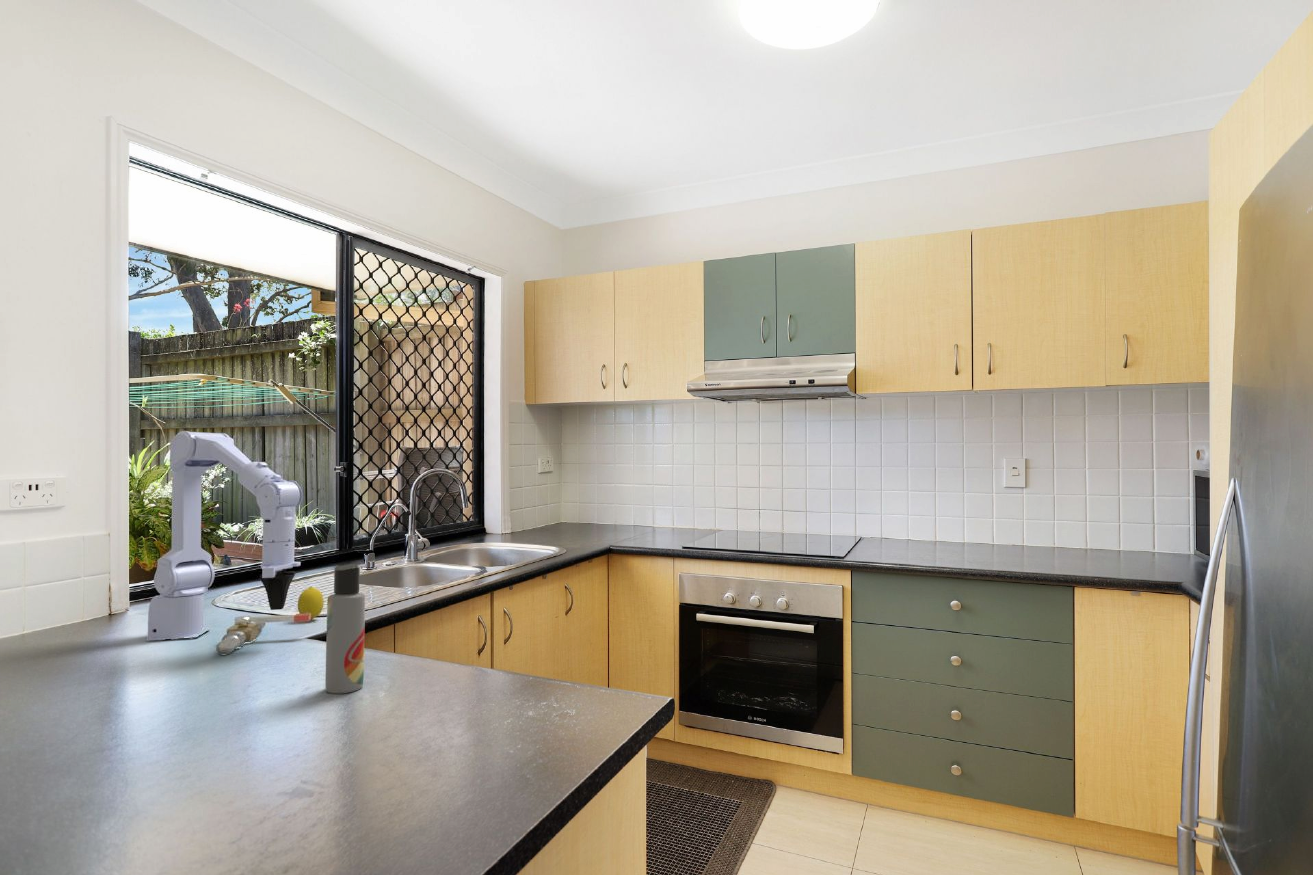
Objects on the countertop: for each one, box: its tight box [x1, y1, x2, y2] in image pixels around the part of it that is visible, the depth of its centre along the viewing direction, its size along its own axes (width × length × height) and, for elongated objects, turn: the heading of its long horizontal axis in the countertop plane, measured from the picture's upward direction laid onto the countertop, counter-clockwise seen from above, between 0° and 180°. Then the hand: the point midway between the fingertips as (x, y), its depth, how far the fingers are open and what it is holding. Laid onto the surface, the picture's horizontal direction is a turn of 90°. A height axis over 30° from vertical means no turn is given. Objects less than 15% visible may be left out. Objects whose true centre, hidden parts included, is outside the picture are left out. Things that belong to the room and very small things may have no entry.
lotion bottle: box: [324, 563, 366, 695], centre depth 114 cm, size 6×6×20 cm
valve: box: [216, 623, 266, 655], centre depth 145 cm, size 22×4×4 cm, turn 15°
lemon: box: [297, 586, 324, 622], centre depth 166 cm, size 6×6×8 cm
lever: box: [234, 613, 312, 625], centre depth 147 cm, size 14×3×1 cm, turn 105°
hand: (277, 609), depth 141 cm, fingers closed
